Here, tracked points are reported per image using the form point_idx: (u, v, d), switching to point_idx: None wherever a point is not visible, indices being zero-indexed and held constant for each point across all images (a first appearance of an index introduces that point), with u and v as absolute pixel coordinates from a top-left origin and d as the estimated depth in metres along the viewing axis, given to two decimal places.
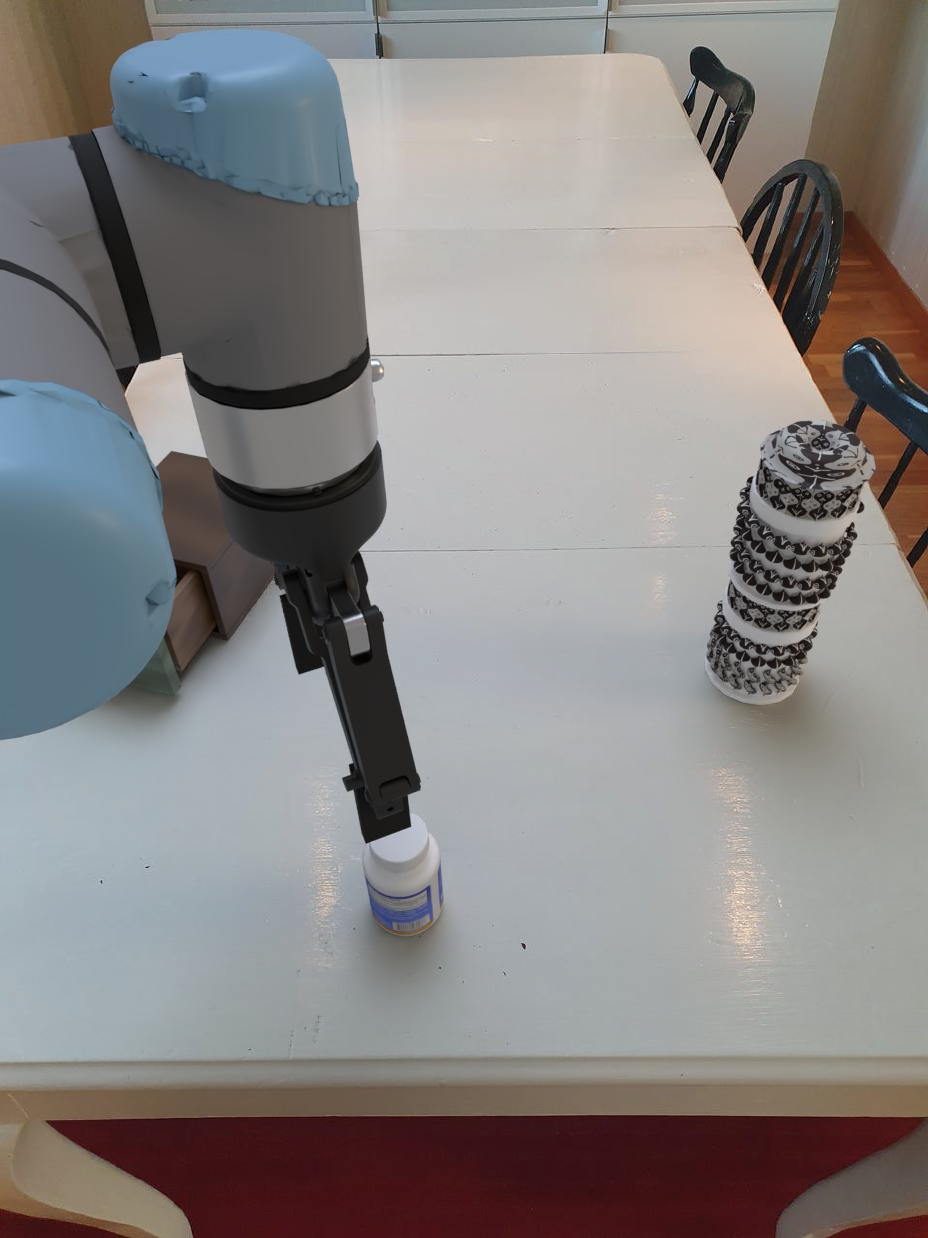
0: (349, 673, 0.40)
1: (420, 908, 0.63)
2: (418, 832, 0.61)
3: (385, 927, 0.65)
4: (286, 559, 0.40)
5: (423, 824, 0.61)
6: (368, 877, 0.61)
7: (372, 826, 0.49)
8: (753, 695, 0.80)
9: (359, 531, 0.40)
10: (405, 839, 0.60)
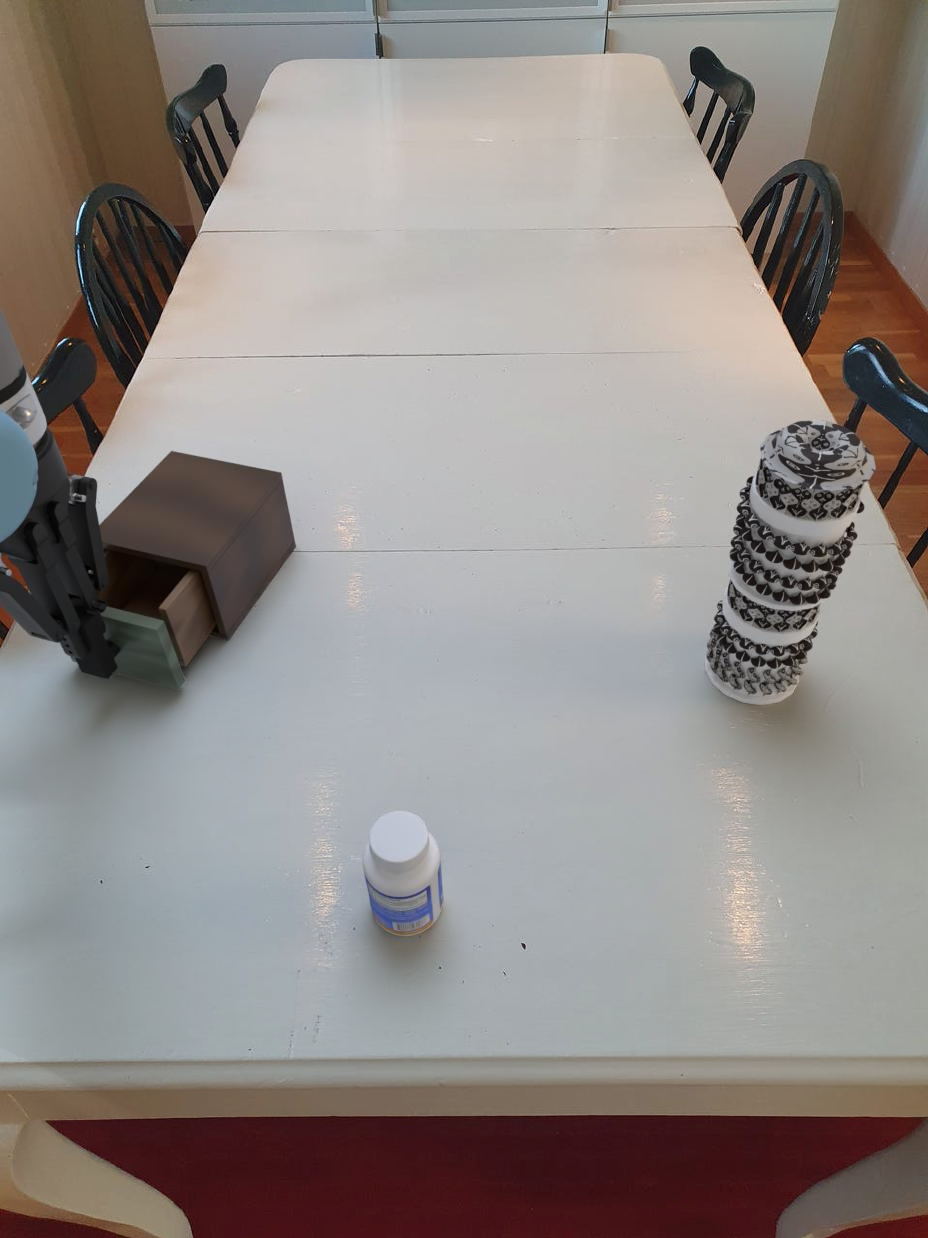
0: None
1: (420, 908, 0.63)
2: (418, 832, 0.61)
3: (385, 927, 0.65)
4: None
5: (423, 824, 0.61)
6: (368, 877, 0.61)
7: (81, 662, 0.78)
8: (753, 695, 0.80)
9: None
10: (405, 839, 0.60)
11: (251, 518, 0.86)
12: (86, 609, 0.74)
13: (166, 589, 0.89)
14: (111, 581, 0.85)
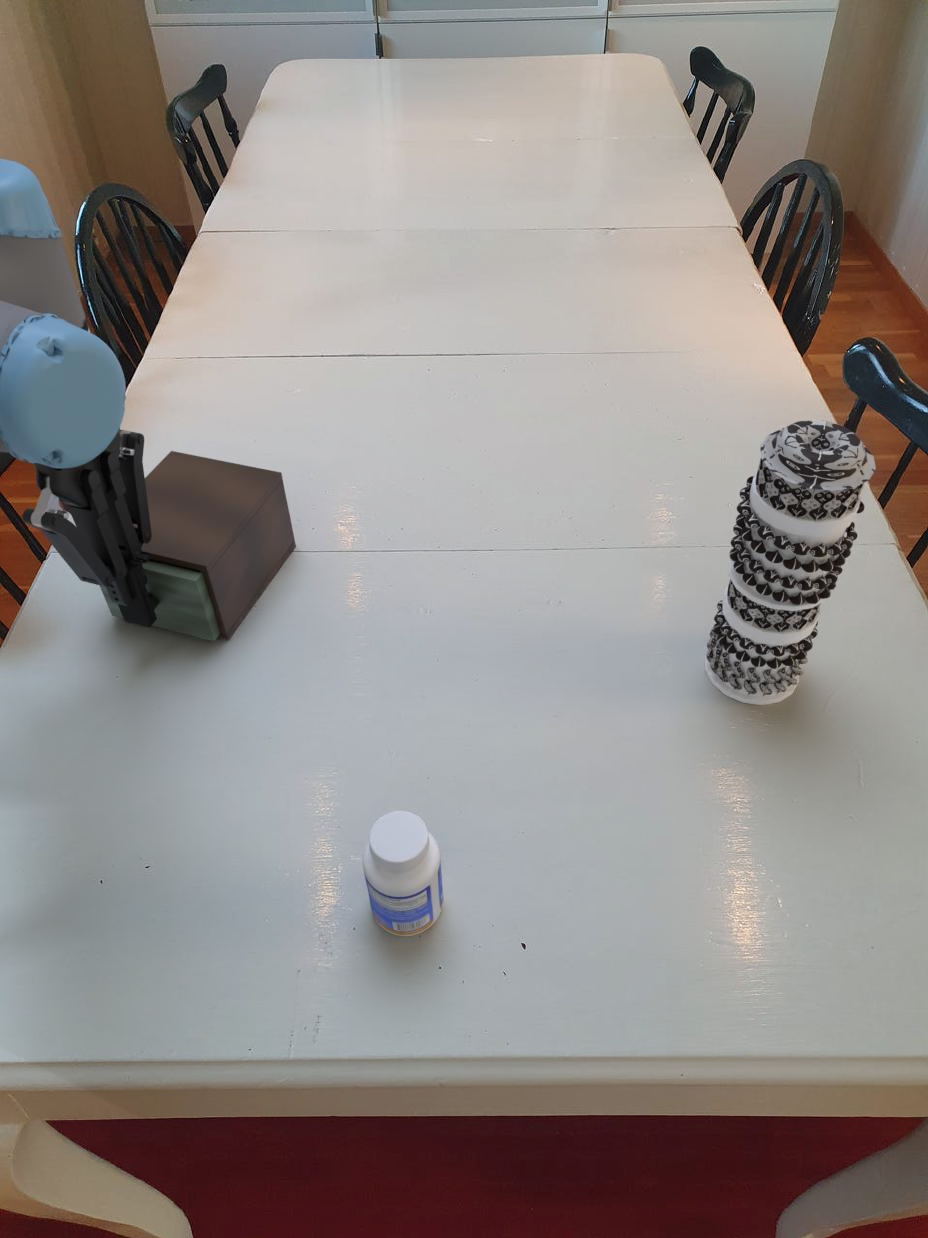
0: (47, 534, 0.70)
1: (420, 908, 0.63)
2: (418, 832, 0.61)
3: (385, 927, 0.65)
4: None
5: (423, 824, 0.61)
6: (368, 877, 0.61)
7: (125, 611, 0.82)
8: (753, 695, 0.80)
9: None
10: (405, 839, 0.60)
11: (251, 518, 0.86)
12: (130, 559, 0.79)
13: None
14: None
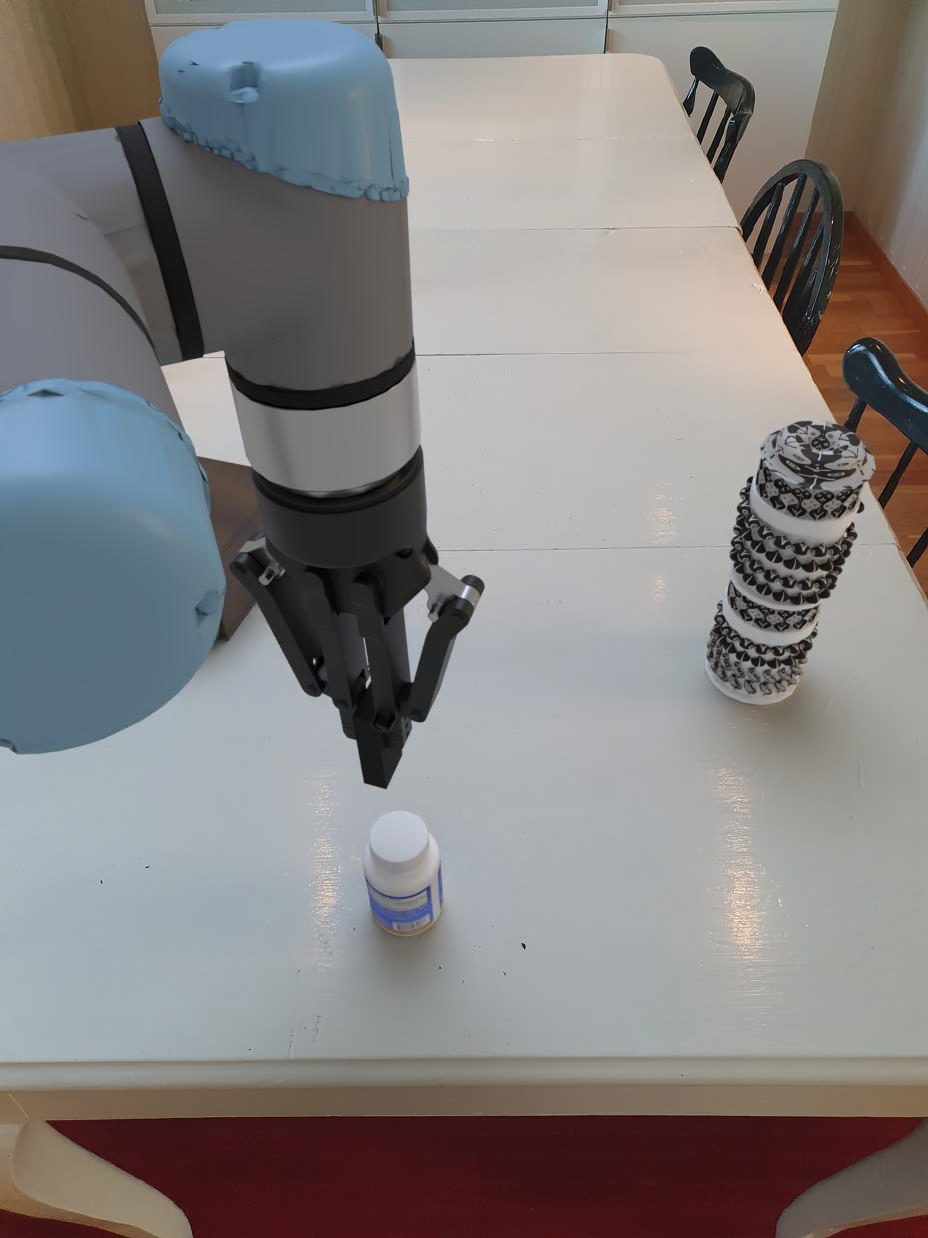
0: None
1: (420, 908, 0.63)
2: (418, 832, 0.61)
3: (385, 927, 0.65)
4: (396, 547, 0.39)
5: (423, 824, 0.61)
6: (368, 877, 0.61)
7: (387, 768, 0.54)
8: (753, 695, 0.80)
9: None
10: (405, 839, 0.60)
11: (251, 518, 0.86)
12: (365, 684, 0.52)
13: None
14: None
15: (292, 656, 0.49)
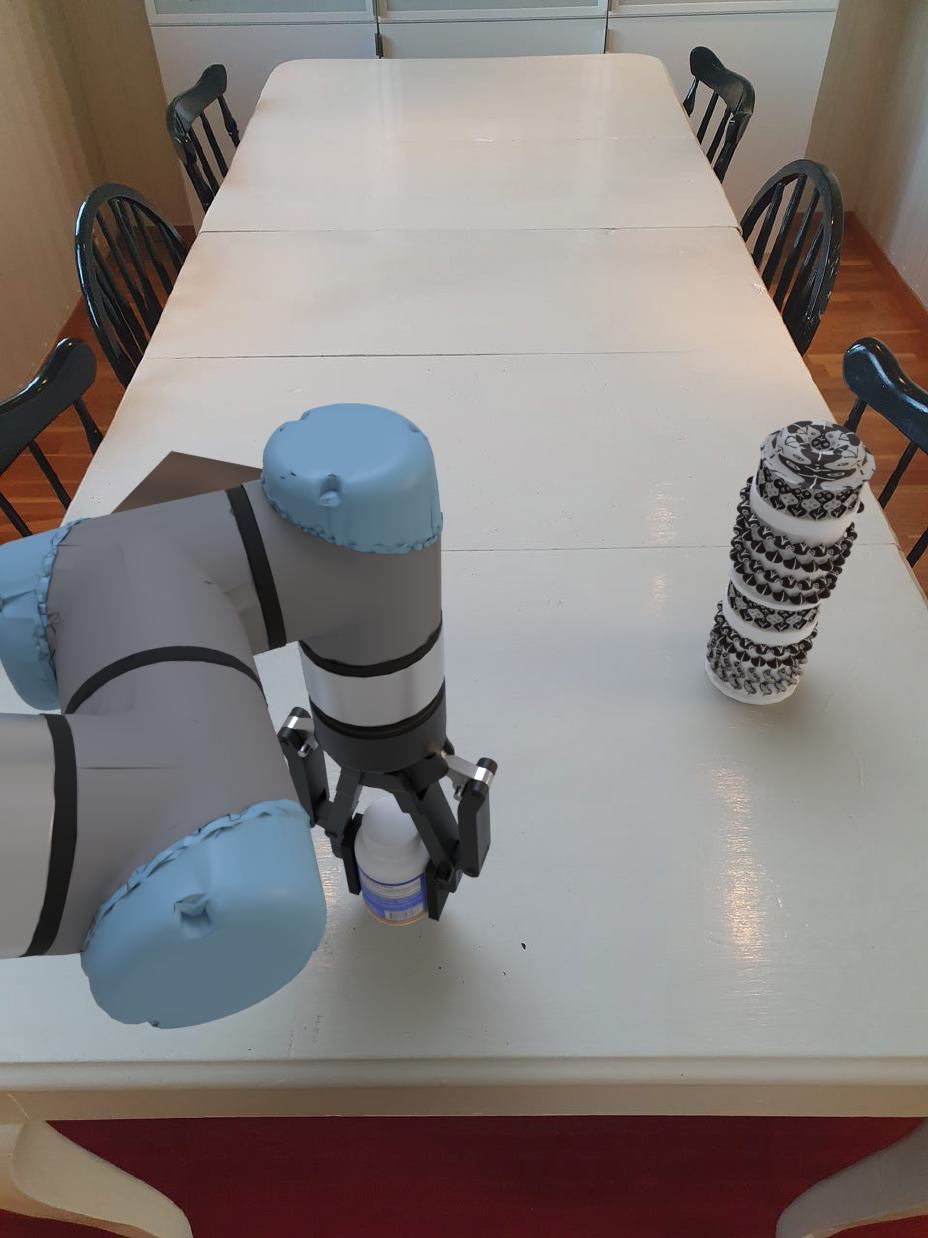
0: (478, 810, 0.54)
1: (414, 897, 0.61)
2: None
3: (377, 917, 0.63)
4: (422, 756, 0.49)
5: None
6: (360, 863, 0.60)
7: (440, 904, 0.63)
8: (753, 695, 0.80)
9: None
10: (399, 824, 0.59)
11: None
12: None
13: None
14: None
15: (301, 800, 0.59)
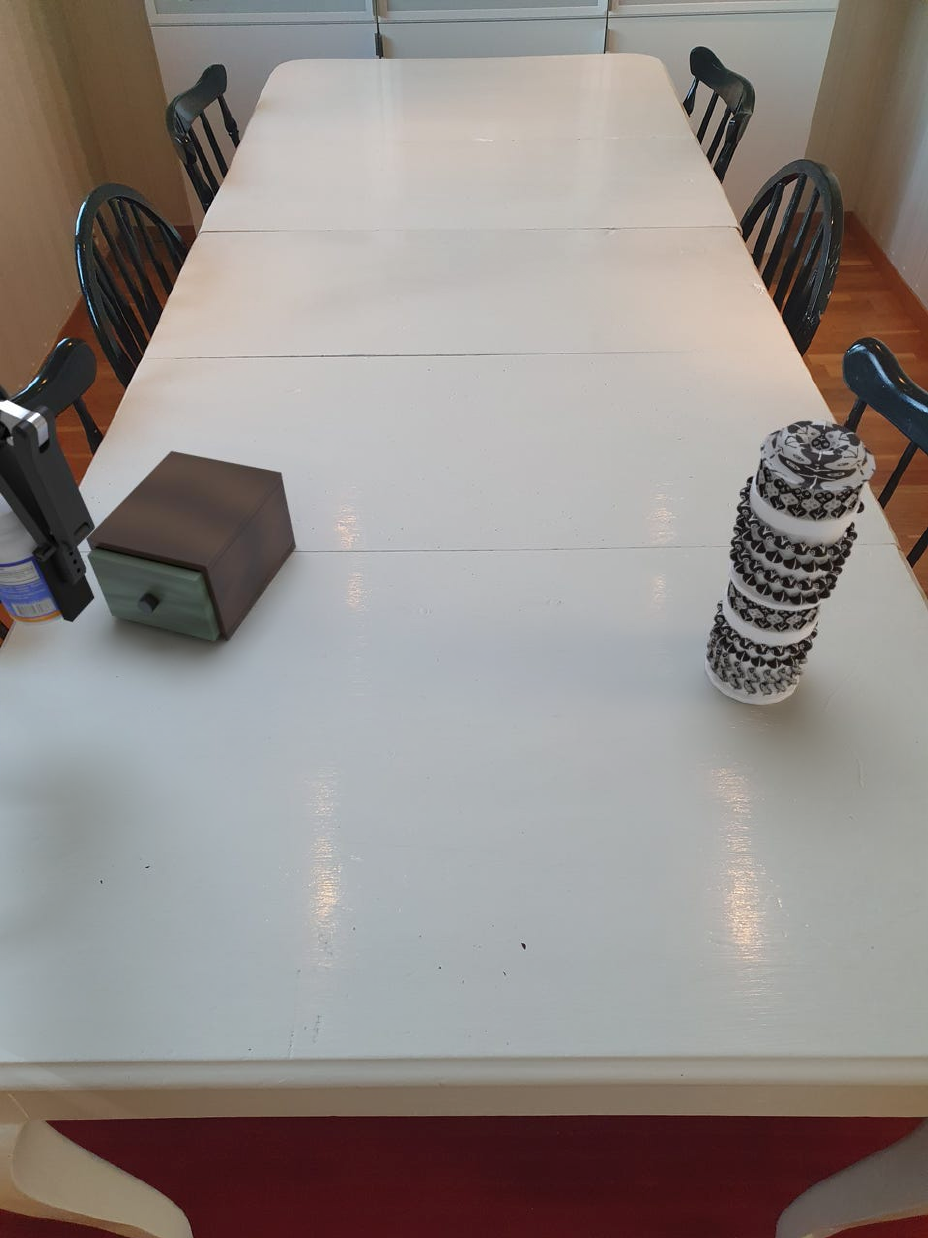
0: (39, 460, 0.55)
1: (34, 586, 0.63)
2: None
3: (12, 615, 0.66)
4: None
5: None
6: None
7: (70, 603, 0.65)
8: (753, 695, 0.80)
9: None
10: (1, 502, 0.61)
11: (251, 518, 0.86)
12: None
13: None
14: None
15: None
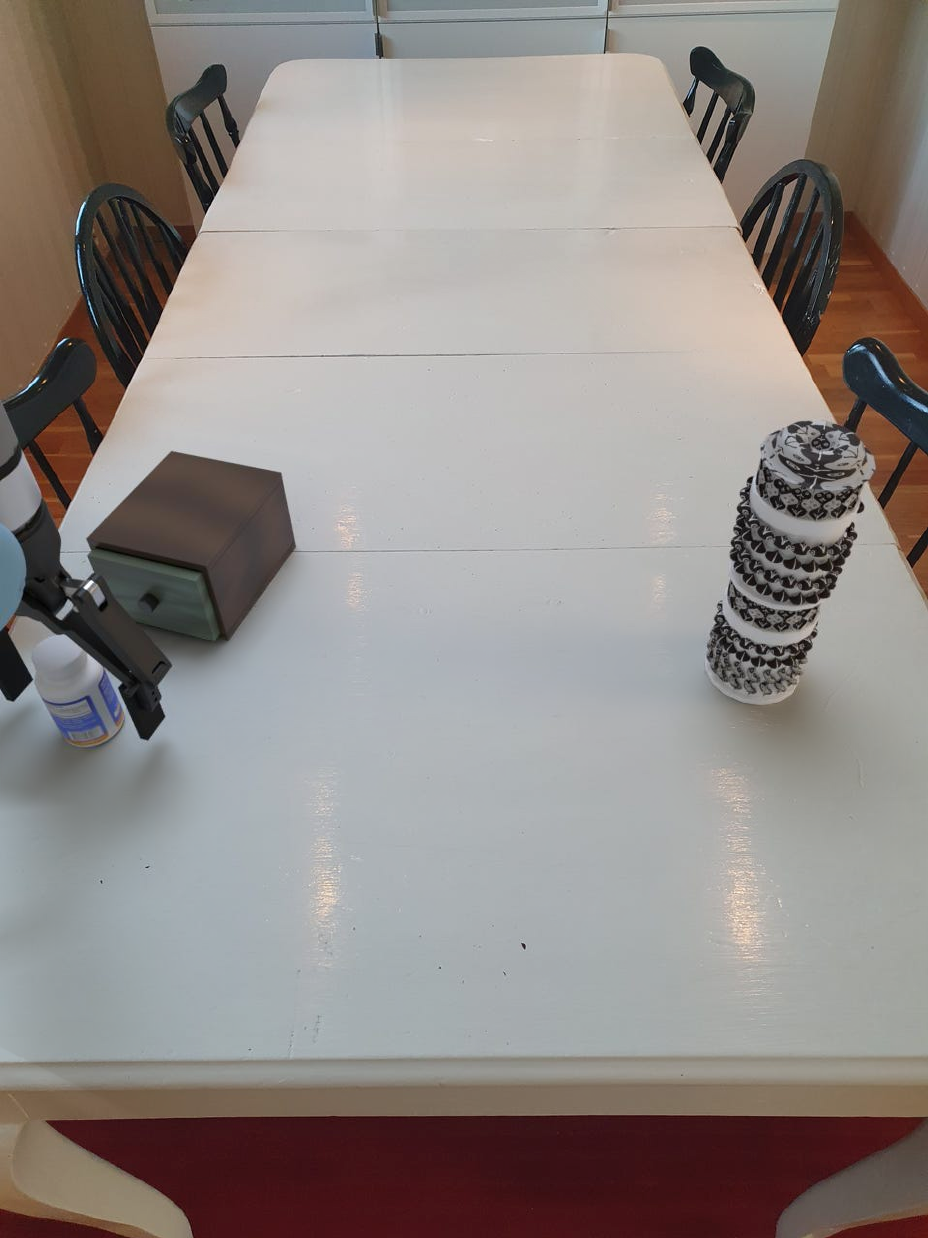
0: (102, 617, 0.66)
1: (87, 718, 0.76)
2: (74, 648, 0.73)
3: (66, 739, 0.78)
4: (27, 576, 0.64)
5: None
6: (36, 688, 0.74)
7: (146, 725, 0.75)
8: (753, 695, 0.80)
9: (56, 540, 0.65)
10: (61, 653, 0.73)
11: (251, 518, 0.86)
12: None
13: None
14: None
15: None
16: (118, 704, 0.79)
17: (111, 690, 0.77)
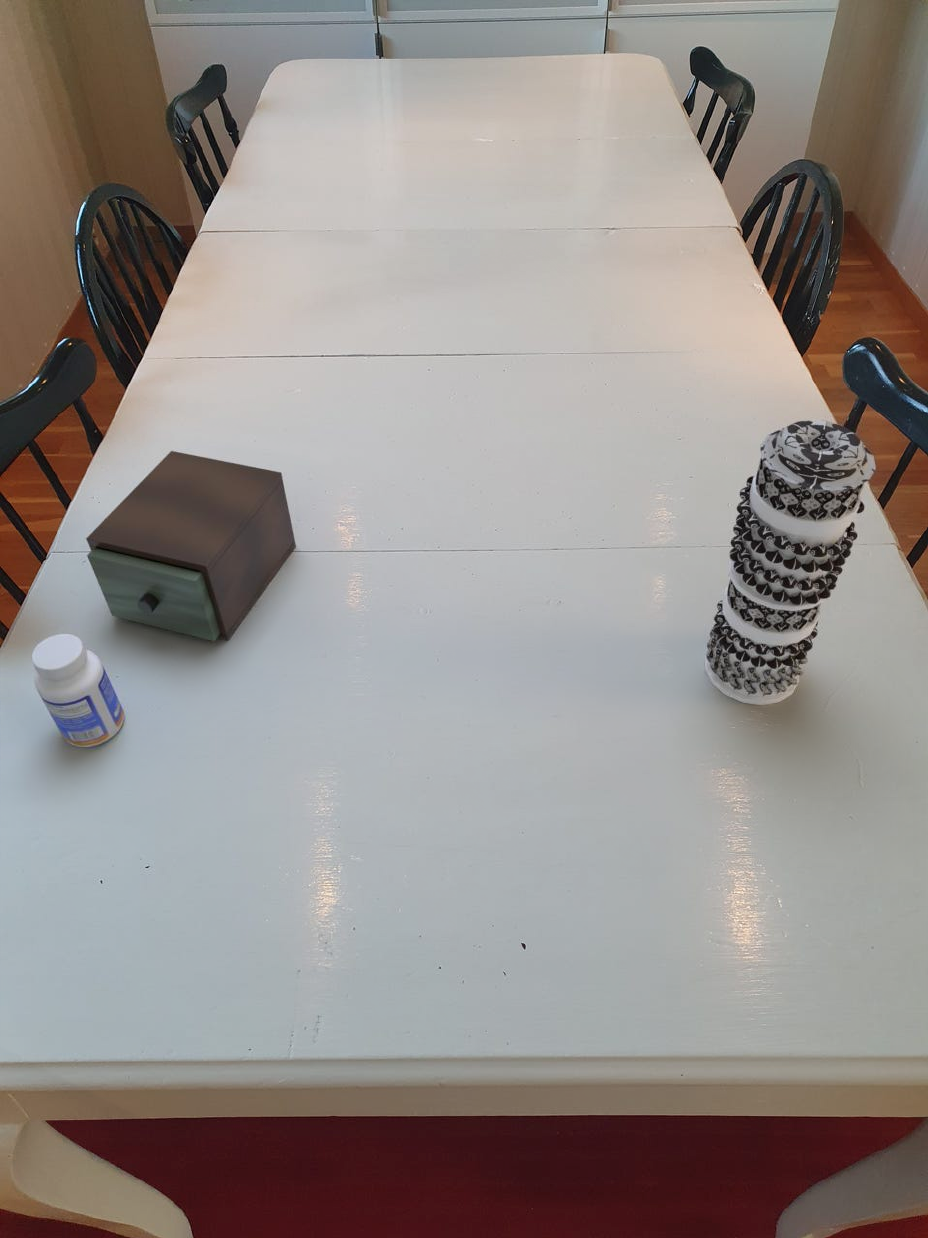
0: None
1: (87, 718, 0.76)
2: (74, 648, 0.73)
3: (66, 739, 0.78)
4: None
5: (80, 643, 0.74)
6: (36, 688, 0.74)
7: None
8: (753, 695, 0.80)
9: None
10: (61, 653, 0.73)
11: (251, 518, 0.86)
12: None
13: None
14: None
15: None
16: (118, 704, 0.79)
17: (111, 690, 0.77)
